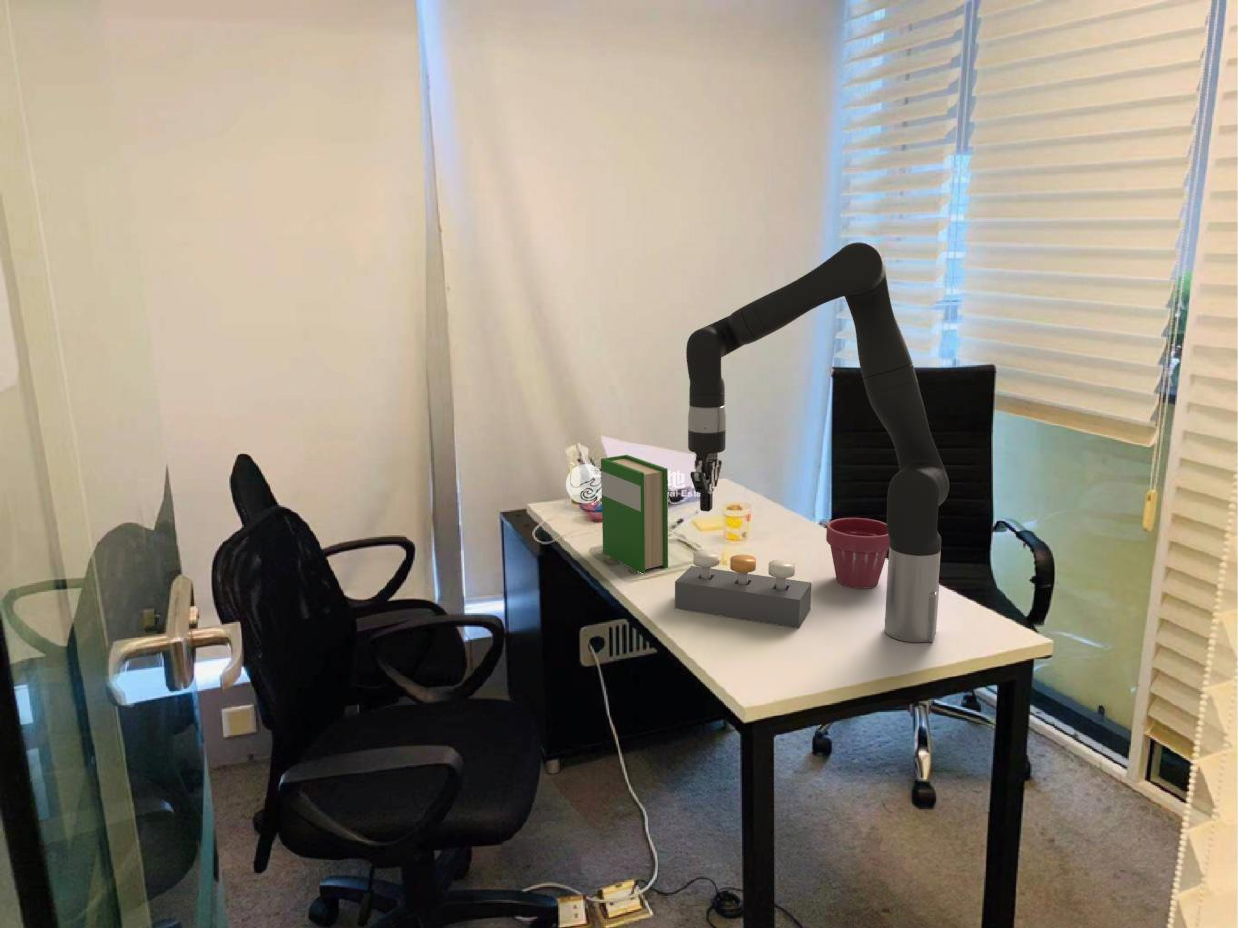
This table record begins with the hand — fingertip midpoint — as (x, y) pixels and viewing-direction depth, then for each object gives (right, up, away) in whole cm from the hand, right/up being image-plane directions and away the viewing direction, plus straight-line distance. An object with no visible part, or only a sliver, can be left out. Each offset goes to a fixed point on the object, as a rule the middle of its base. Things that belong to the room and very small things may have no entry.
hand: (706, 510), depth 180 cm
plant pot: (+35, -17, +16) cm, 42 cm away
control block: (+8, -21, +1) cm, 22 cm away
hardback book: (-14, -14, +32) cm, 38 cm away
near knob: (+15, -17, -3) cm, 23 cm away
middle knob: (+8, -17, +1) cm, 18 cm away
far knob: (0, -16, +4) cm, 17 cm away
